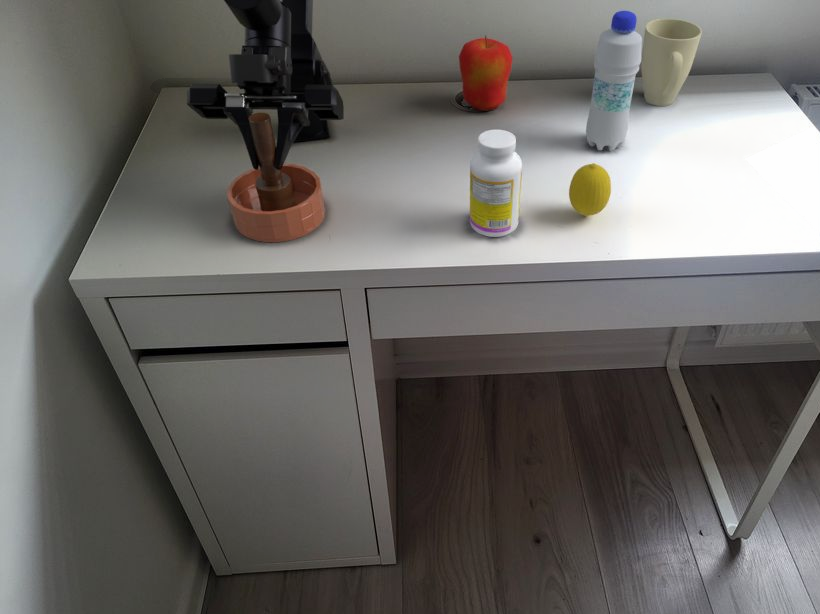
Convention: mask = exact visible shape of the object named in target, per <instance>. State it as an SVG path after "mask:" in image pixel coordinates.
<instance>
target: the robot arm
mask: <svg viewBox="0 0 820 614" xmlns="http://www.w3.org/2000/svg"><path fill="white" fill-rule="evenodd" d="M223 1H224V2H225V4H226V6H227V7H228V9H229V10H230V12H231V13H232V14H233V15H234V17H235V18H236V20H237V22H238V23H239V24H240V25H242V26H243V27H244V45H241V50H240V51H241V53H231V54H228V60H229V68H230V79H231V80H230V81H231V83H232V84H236V87H238V88H239V90H243V93H241V92H240V93H237V92H236V93H234V92H233V93H231V92H230V93H229V92H228V91H227V90H226V89H225V88H224V87H223V86H222V85H221V83H192V84H191V85H190V86H189V88H188V89H187V91H186V105H187V106H188V107H189V108H190V109H192V110H193V111H194V112H195V113H196V114H197V115H198V116H200V117H201V118H202V119H206V120H228V119H230V121H231V122H233V123H234V125H236V126H237V127H238V129H239V131H240V133H241V135H242V138H243V141H244V144H245V148H246V150H247V154H248V156H249V157H248V158H249V160H250V163H251V166H252V169H255V170H258V168H259V163H258V159H257V155H256V150H255V146H254V141H253V137H252V132H251V128H250V124H249V116H251V115H252V114H254V110H269V111H270V110H273V111H274V110H276V111H277V135H276V168H277V169H278V170H281V169H282V166H283V164H285V162H286V160H287V157H288V155H289V153H290V150H291V149H292V146H293V144H294V143H296V142H305V141H314V140H323V139H330V138H331V131H330V127H329V124H328V121H341V120H344V112H345V111H344V108H345V105H344V100H343V98H342V96H341V94H340V92H339V90H338V89H337V88H336V87H335V85H334V84H333V81H332V78H331V73H330V71H329V68H328V67H327V64H326V63H325V61H324V59H323V57H322V55H321V52H320V50H319V48H318V45H317V43H316V41H315V39H314V38H313V14H314V12H313V11H314V10H313V9H314V0H223Z"/></svg>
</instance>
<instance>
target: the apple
mask: <svg viewBox="0 0 820 614" xmlns="http://www.w3.org/2000/svg"><path fill="white" fill-rule="evenodd" d="M458 63H459V70H460V75H461V80H462V98H463V100H464V101H465V102H466V103H467V104H468V105H469V106H470V107H471V108H474V109H475V110H478V111H492V110H495V109H497V108H499V107H500V106H501V105H502V104H504V103H505V101H506V97H507V90H508V82H509V78H510V74H511V71H512V65H513V55H512V52H511V50H510V47H509V46H508V45H507V44H506V43H503V42H501V41H499V40H497V39H494V38H488V37H487V35H486V34H485V35H484V37H480V38H475V39H473V40H470V41H467V42H465V43H464V44H463V46H462V48H461V51H460V53H459V55H458Z"/></svg>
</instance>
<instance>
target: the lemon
mask: <svg viewBox="0 0 820 614" xmlns="http://www.w3.org/2000/svg"><path fill="white" fill-rule="evenodd" d="M611 193H612V182H611V177H610V174H609V173H608V171H607V170H606V169H605V168H604V167H602V166H601V165H599V164H596V163H588V164H585V165H583V166H580V167H579V168H578V169H577V170H576V171H575V172H574V174H573V176H572V178H571V181H570V184H569V189H568V198H569V202H570V205H571V206H572V208H573V210H574V211H576V212H577V213H578V214H581V216H582V215H583V216H584V217H589V216H595V215H598V214H599V213H600V212H602V211H603V210H604V209H605V208H606V207H607V205H608V204H609V200H610V197H611Z"/></svg>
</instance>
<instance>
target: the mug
mask: <svg viewBox="0 0 820 614" xmlns="http://www.w3.org/2000/svg"><path fill="white" fill-rule="evenodd" d="M702 33H703V30H702V28H701V27H700V26H699V25H697V24H696V23H694V22H691V21H687V20H685V19H684V20H683V19H678V18H658V19H653V20H650V21H648V22H647V23H646V24H645V26H644V35H643V41H642V50H641V62H640V64H641V65H640V67H641V80H642V81H641V82H642V87H643V89H642V90H643V96H644V100H645V102H646V103H648V104H650V105H652V106H656V107H666V106H670V105H672V104H673V103H674V101H675V99H676V97H677V96H678V94H679V92H680V91H681V89H682V87H683V85H684V83H685V82H686V80H687V78H688V76H689V74H690V71H691V69H692V66H693V63H694V60H695V57H696V54H697V50H698V46H699V44H700V40H701V38H702Z"/></svg>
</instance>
